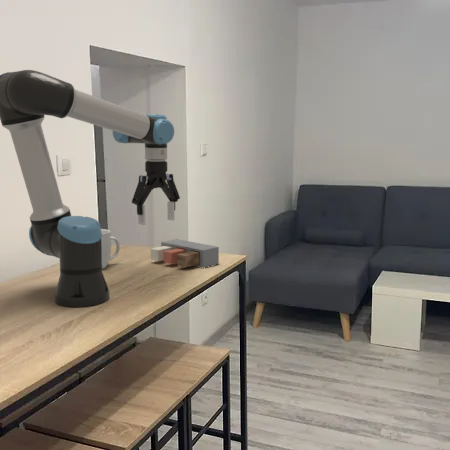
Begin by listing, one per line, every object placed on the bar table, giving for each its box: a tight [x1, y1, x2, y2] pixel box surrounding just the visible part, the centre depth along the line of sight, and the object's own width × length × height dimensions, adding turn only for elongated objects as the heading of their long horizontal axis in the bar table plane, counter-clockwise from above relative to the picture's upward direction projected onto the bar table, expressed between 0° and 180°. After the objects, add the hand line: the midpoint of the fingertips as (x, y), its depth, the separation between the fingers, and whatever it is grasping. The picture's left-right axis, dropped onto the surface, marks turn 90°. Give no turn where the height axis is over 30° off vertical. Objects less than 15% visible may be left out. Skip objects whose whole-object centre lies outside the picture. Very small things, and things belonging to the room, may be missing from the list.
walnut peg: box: [176, 251, 200, 268], centre depth 196 cm, size 9×4×4 cm, turn 139°
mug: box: [101, 228, 121, 270], centre depth 196 cm, size 15×11×13 cm
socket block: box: [160, 238, 220, 269], centre depth 206 cm, size 8×22×6 cm, turn 49°
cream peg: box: [150, 245, 173, 262], centre depth 206 cm, size 9×4×4 cm, turn 139°
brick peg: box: [163, 248, 186, 265], centre depth 201 cm, size 9×4×4 cm, turn 139°
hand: (156, 222), depth 192 cm, fingers open, 13 cm apart
